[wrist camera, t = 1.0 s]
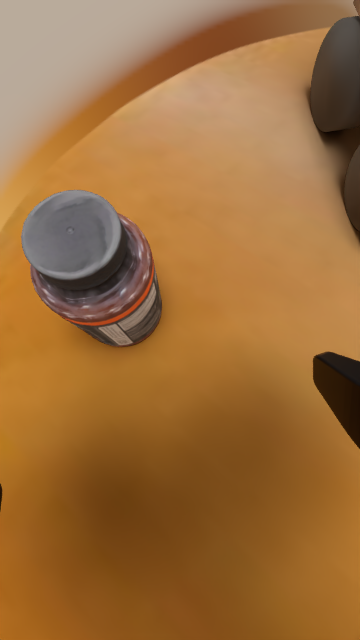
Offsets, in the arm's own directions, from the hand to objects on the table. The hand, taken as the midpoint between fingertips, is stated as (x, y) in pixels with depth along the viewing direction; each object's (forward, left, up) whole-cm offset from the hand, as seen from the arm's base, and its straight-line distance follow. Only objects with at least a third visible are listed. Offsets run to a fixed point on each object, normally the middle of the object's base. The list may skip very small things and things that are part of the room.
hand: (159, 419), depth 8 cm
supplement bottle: (+8, +3, -14) cm, 16 cm away
